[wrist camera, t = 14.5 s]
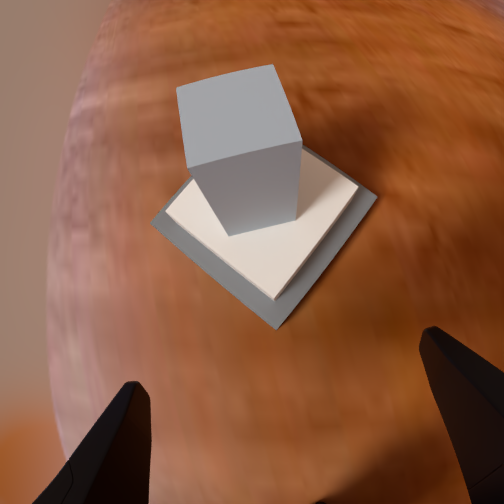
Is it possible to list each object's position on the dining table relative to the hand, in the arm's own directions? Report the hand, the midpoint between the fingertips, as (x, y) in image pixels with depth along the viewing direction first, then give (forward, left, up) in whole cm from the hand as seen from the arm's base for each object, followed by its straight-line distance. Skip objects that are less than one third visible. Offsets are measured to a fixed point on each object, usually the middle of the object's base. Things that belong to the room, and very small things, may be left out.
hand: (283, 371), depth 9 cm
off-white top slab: (+7, -6, -12) cm, 15 cm away
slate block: (+7, -6, -9) cm, 13 cm away
